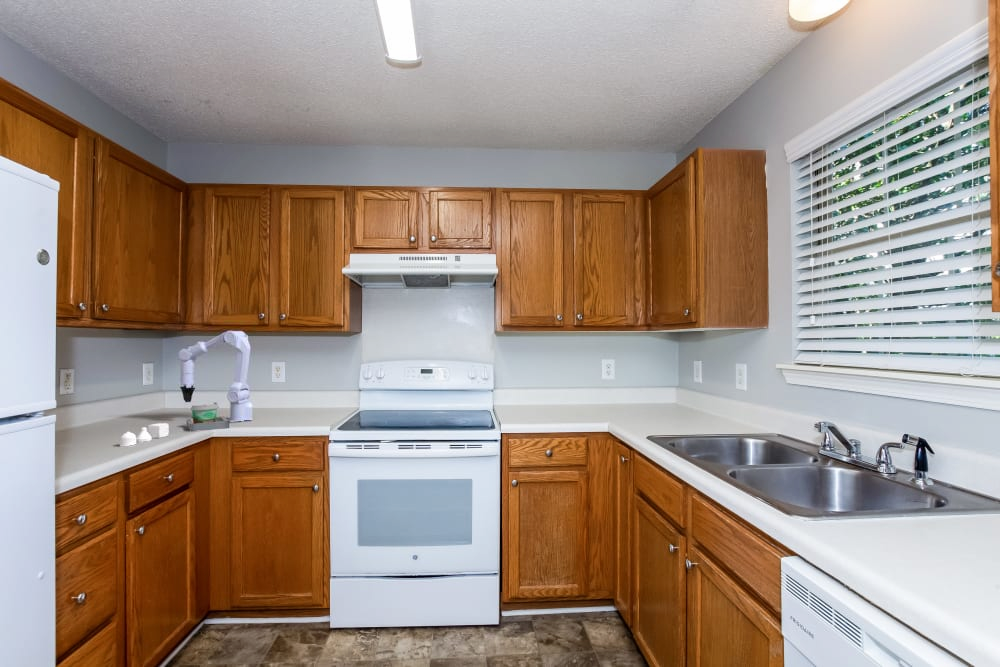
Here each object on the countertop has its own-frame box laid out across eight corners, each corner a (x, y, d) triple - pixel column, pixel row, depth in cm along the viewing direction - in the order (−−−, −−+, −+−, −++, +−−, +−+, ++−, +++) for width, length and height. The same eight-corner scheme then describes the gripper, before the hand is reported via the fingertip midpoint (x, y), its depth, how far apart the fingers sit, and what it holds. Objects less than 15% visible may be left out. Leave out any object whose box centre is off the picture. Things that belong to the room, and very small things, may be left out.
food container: (200, 428, 213) (200, 406, 213) (190, 427, 215) (190, 405, 216) (224, 424, 225) (224, 402, 225) (215, 423, 227) (215, 402, 227)
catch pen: (223, 422, 229) (223, 416, 229) (229, 427, 216) (229, 421, 216) (186, 425, 220) (186, 419, 220) (189, 431, 207) (189, 424, 207)
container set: (156, 436, 198) (156, 423, 198) (168, 436, 198) (168, 423, 198) (115, 447, 178) (115, 432, 178) (128, 447, 178) (129, 432, 178)
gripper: (176, 373, 238) (176, 400, 238) (178, 374, 226) (178, 403, 226) (193, 372, 242) (193, 399, 242) (196, 374, 231) (196, 402, 230)
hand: (187, 401), depth 234 cm, fingers open, 7 cm apart
